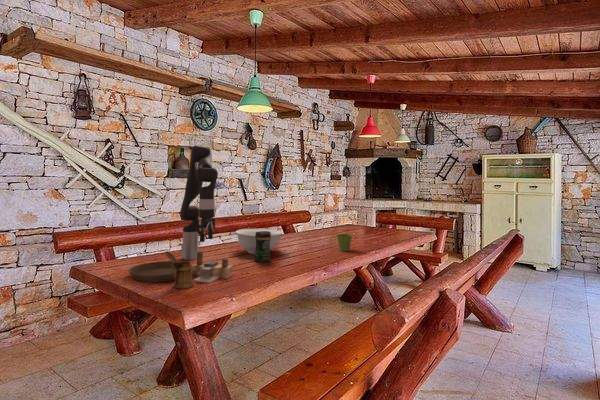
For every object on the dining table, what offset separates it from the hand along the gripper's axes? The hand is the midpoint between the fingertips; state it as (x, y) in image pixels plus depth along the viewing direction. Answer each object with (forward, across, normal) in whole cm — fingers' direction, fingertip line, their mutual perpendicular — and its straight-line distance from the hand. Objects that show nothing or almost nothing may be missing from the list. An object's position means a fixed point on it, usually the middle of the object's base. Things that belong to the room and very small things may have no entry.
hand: (206, 240), depth 187 cm
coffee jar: (+20, -49, +13) cm, 55 cm away
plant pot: (+20, -99, +58) cm, 117 cm away
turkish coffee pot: (+20, +15, -6) cm, 26 cm away
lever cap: (+19, 0, 0) cm, 19 cm away
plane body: (+20, -9, -1) cm, 22 cm away
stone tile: (+20, 0, 0) cm, 20 cm away
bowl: (+20, -73, +2) cm, 76 cm away
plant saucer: (+20, -1, -26) cm, 33 cm away
